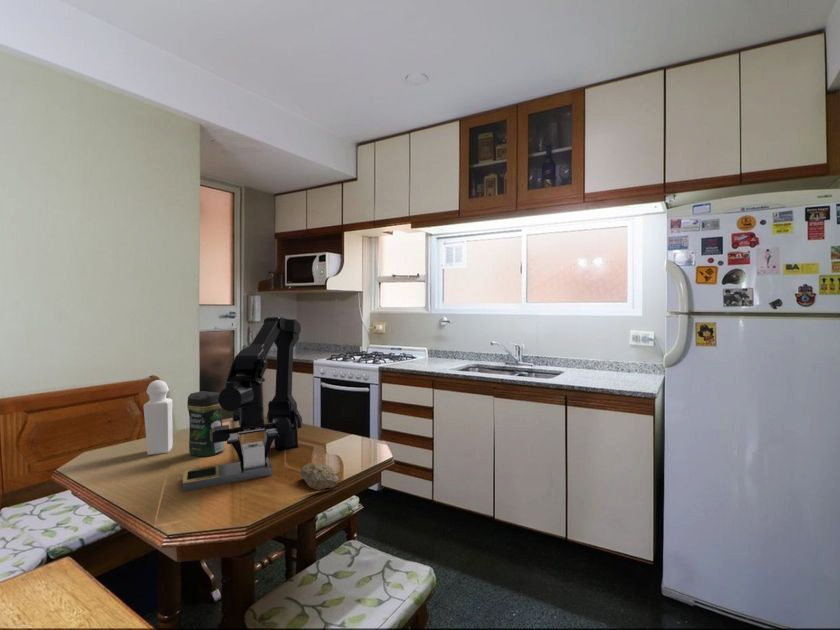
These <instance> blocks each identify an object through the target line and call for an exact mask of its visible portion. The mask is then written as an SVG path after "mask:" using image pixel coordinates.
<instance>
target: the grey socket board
mask: <svg viewBox="0 0 840 630" xmlns="http://www.w3.org/2000/svg"><path fill="white" fill-rule="evenodd" d="M182 476H183V477H182V482H181V483H182V484H181V485H182V492H189V491H194V490H201V489H206V488H210V487H215V486H221V485H226V484H232V483H238V482H243V481H248V480H253V479H260V478H264V477H268V476H273V466H272V464H271V461H270V459H269V457H268V456H267V458H266V461H265V467H261V468H256V469H250V470H244V471H243V465H242V464H241V462H240V461H237V462H236V461H235V462H231V463H224V464H214V465H209V466H202V467H197V468H191V469H185V470H184V471H183V475H182Z"/></svg>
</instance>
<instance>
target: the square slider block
mask: <svg viewBox="0 0 840 630" xmlns="http://www.w3.org/2000/svg"><path fill="white" fill-rule="evenodd" d="M241 450H242V455H243V471H244V470H250V469H256V468H261V467H265V452H264V441H262V440H261V441H260V440H259V441H254V442H247V443H242V444H241Z"/></svg>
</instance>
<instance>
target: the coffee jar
mask: <svg viewBox="0 0 840 630" xmlns="http://www.w3.org/2000/svg"><path fill="white" fill-rule="evenodd" d="M220 393H221V392H219V391H218V392H215V391H203V390H201V391H196V392H192V393H189V395H188V397H187V411H188V417H189V437H188V438H189V439H188V440H189V441H188V452H189V454H190V455H192V456H196V457H203V458H204V457H205V458H206V457H211V456H216V455H219V454H221V453H222V452H223V451H225V441H224V442H218V443H213V441H212V429H213V428H214V427H216V426H223V420H222V419H223V416H222V412H223V408H222V407H221V406H220V404H219V401H218V397H219V395H220Z"/></svg>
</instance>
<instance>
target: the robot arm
mask: <svg viewBox="0 0 840 630" xmlns="http://www.w3.org/2000/svg"><path fill="white" fill-rule="evenodd" d="M301 325H302V324H301V323H300V322H299V321H298V320H297V319H295V318H292V319H291V318H290V319H289V318H284V317H281V316H268V317H266V318H264V319H263V324H262V326H261V327H260V329H259V331H258V332H257V334H256V335H255V337H254V339H253V340H252V342H251V343H250V345H249V346H247V347H246V348H242V349H241V350H240V351H239V352H238V353H237V354H236V355H235V356H234V359H233V360H232V363H231V367H230V370H229V372H228V375H227V379H226V383H225V388H223V389H222V390H221V391H220V392H219V393H220V395H219V397H218V401H219V404H220V406H221V407H222V410H224V411H226V412H232V423H236V422H238V423H239V426H238V427H232V428H231V427H230V424H226V425H225V424H224V425H222V426H216V427H214V428H213V429H212V441H213V443H218V442H224V443H225V442H226V444H227V445H231V446H232V447H233V449H234V450H235V453H236V454H237V456H238V459H239V462H241V464H242V465H243V455H242V444H241V439H240V436H241V435H247V434H254V433H259V432H260V433H261V432H264V433H263V435H264V441H263V444H264V452H265V461H266V458H267V457H268V454H269V452H270V449H271V446H273V448H274V449H275V450H276V451H277V452H280V451H287V450H293V449H298V448H300V445H299V440H298V439H299V437H298V429H301V428H302V426H303V417H302V415H301V413H300V412H299V410H298V404H297V401H296V400H295V398H294V396H293V392H292V391H293V371H294V370H293V367H294V365H293V363H294V362H293V361H294V349H295V347H296V344H297V343H298V341H299V340H300V334H301V331H302V326H301ZM273 345H275V347H276V366H275V368H276V370H275V371H276V372H275V389H274V391H275V392H274V396H273V398H272V399H271V400H269V401H268V404H267V406H268V408H267V415H266V419H267V423H265V421H264V419H265V418H264V417H265V415H264V393H263V391H264V390H263V383H264V382H265V381H266V379H265V377H264V374H265V372H266V370H267V368H268V364H269V362H268V359H267V356H268V353H270V350H271V348H272V347H273ZM272 444H273V445H272Z"/></svg>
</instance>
